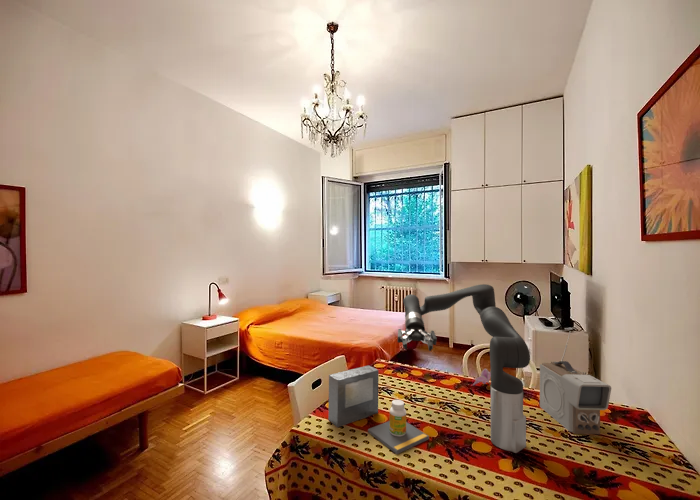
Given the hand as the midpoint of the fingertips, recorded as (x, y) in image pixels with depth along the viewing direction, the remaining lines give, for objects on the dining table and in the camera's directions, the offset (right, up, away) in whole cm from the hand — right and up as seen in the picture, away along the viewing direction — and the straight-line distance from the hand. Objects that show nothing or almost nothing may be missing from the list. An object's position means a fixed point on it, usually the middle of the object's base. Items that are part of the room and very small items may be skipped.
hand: (417, 347), depth 113 cm
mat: (-9, -26, -10) cm, 29 cm away
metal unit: (-23, -26, +2) cm, 35 cm away
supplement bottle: (-9, -25, -10) cm, 28 cm away
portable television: (+56, -27, 0) cm, 62 cm away
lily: (+36, -27, +29) cm, 54 cm away
